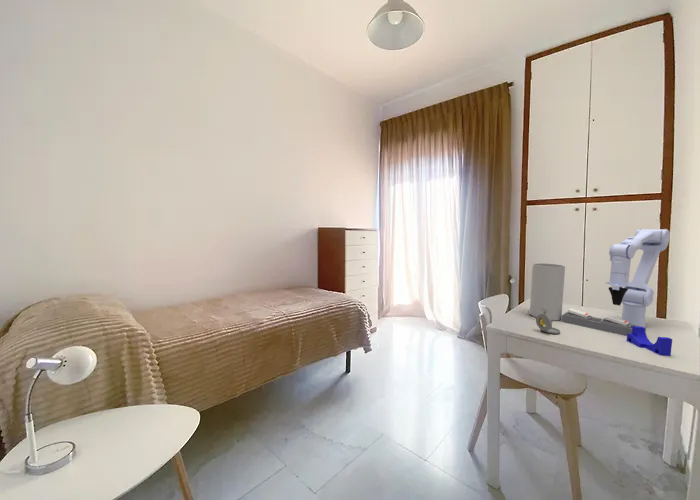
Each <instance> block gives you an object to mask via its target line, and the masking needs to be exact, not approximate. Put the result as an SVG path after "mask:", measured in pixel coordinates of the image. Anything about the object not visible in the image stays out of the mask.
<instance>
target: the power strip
mask: <svg viewBox="0 0 700 500" xmlns="http://www.w3.org/2000/svg"><path fill="white" fill-rule="evenodd" d="M604 318H605V317H604ZM604 318H602V317H601V318H600V317H595V316H593V315H589V317H588V318H585V317H582V316H576V314H573V313H570V312H568V311H566V312H564V313H562V317H561V322H562V323H567V324H571V325H577V326H580V327H585V328H590V329H595V330H597V331H598V330H599V331H603V332H607V333H612V334H617V335H622V336H626V337H627V334H632V326H637V325H632V324H631V323H629V324H628V325H627V326H625V325H621V324H618V323H616V324H615V323H614V322H612V321H609V320H606V319H604ZM639 327H642V326H639ZM644 328H645V333H646V334H647V326H645V327H644Z"/></svg>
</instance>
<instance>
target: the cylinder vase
mask: <svg viewBox="0 0 700 500" xmlns="http://www.w3.org/2000/svg"><path fill="white" fill-rule="evenodd" d="M531 269H532V270H531V283H530V284H531V286H530V299H529V300H530V301H529V302H530V303H529V315H530V316H531V317H534V318H535V319H536V317H537V316H538V315H539V314H544V312H543V311H544V310H545V309H546V310H547V311H546V310H545V311H546V313H545V314H546V315H547V316H549V318H550V319H551V321H554V322H556V321H560V320H562V315H563V301H564V289H565V287H564V286H565V273H566V272H565V271H566V266H565V265H562V264H556V263H542V262H541V263H532V268H531ZM542 308H544V309H542ZM541 309H542V310H543V311H542V310H541Z"/></svg>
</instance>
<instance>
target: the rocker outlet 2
mask: <svg viewBox="0 0 700 500" xmlns="http://www.w3.org/2000/svg"><path fill="white" fill-rule="evenodd" d="M604 319H606V320H609V321H612V322H614V323H615V324H616V323H618V324H621V325H625V326H627V325H628V324H629V322H628V321H626V320H622V318H619V317H616V316H612V315H609V314H606V315H605V316H604Z"/></svg>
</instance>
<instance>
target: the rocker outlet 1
mask: <svg viewBox="0 0 700 500" xmlns="http://www.w3.org/2000/svg"><path fill="white" fill-rule="evenodd" d="M567 312H570V313H573V314H576V316H582V317H585V318H588V317H589V315H590V313H587V312H584V311H582V310H578V309H575V308H572V307H570V308H568V309H567ZM590 316H591V315H590Z"/></svg>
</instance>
